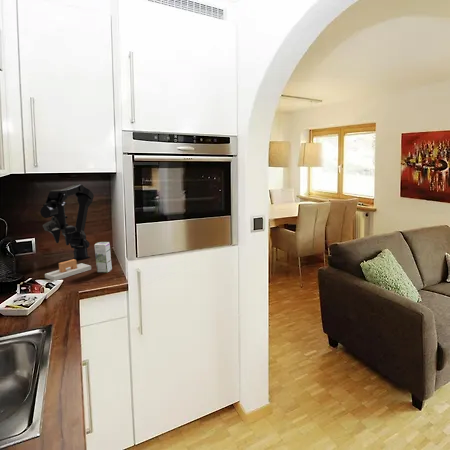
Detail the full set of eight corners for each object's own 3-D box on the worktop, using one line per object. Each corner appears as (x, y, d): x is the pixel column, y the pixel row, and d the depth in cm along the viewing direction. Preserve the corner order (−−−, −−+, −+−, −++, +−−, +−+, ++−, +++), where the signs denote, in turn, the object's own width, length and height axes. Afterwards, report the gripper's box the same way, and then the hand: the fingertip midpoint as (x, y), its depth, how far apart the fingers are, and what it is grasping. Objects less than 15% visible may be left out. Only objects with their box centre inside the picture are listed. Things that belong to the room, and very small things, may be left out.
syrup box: (112, 269, 189) (110, 241, 186) (107, 272, 183) (105, 244, 180) (101, 269, 190) (99, 241, 187) (96, 272, 184) (93, 244, 181)
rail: (81, 266, 194) (81, 263, 194) (91, 269, 189) (90, 265, 189) (45, 277, 178) (44, 273, 177) (54, 280, 173) (53, 276, 173)
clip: (74, 270, 187) (73, 259, 186) (77, 271, 186) (76, 259, 185) (59, 275, 181) (58, 263, 180) (62, 276, 180) (61, 264, 179)
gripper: (34, 215, 189) (37, 245, 192) (54, 218, 179) (58, 250, 182) (54, 212, 198) (57, 240, 201) (75, 215, 188) (78, 245, 191)
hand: (62, 244), depth 193 cm, fingers open, 9 cm apart
